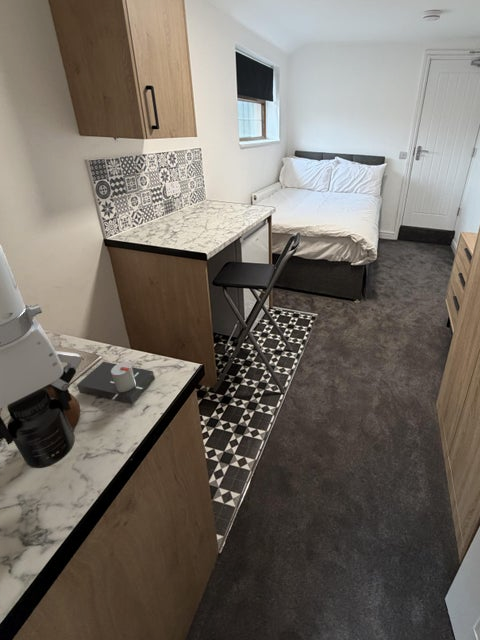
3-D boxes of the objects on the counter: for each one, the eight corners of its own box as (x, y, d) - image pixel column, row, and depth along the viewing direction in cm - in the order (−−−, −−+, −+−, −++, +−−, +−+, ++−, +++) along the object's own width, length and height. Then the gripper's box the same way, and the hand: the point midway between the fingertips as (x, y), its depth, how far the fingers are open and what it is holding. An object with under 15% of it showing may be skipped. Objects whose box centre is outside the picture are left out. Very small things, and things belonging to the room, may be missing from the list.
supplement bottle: (21, 450, 54) (-6, 398, 48) (69, 425, 58) (48, 374, 53) (31, 480, 50) (2, 425, 44) (81, 450, 54) (61, 398, 49)
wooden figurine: (90, 418, 68) (69, 363, 62) (63, 442, 63) (37, 384, 57) (67, 409, 70) (44, 354, 64) (40, 430, 65) (12, 374, 59)
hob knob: (112, 390, 72) (106, 371, 70) (125, 377, 75) (119, 359, 73) (127, 393, 71) (121, 375, 69) (139, 380, 74) (135, 362, 72)
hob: (73, 398, 73) (70, 389, 72) (105, 369, 81) (103, 360, 80) (131, 411, 70) (129, 402, 69) (159, 379, 78) (157, 371, 77)
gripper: (58, 293, 51) (87, 378, 59) (-109, 349, 39) (-44, 447, 47) (78, 310, 47) (106, 399, 55) (-100, 378, 35) (-31, 480, 43)
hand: (37, 420), depth 51 cm, fingers closed on supplement bottle, 6 cm apart
